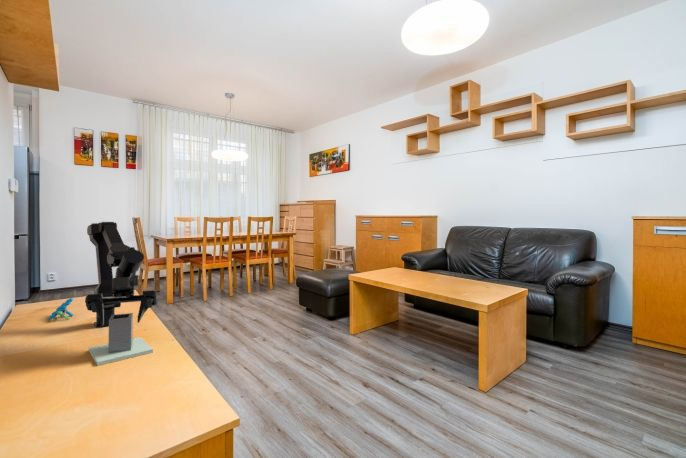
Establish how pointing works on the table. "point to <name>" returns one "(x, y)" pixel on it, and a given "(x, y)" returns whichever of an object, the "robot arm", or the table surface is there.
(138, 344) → the pin board
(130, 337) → the square open box
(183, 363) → the table surface
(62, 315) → the blue toy figurine
